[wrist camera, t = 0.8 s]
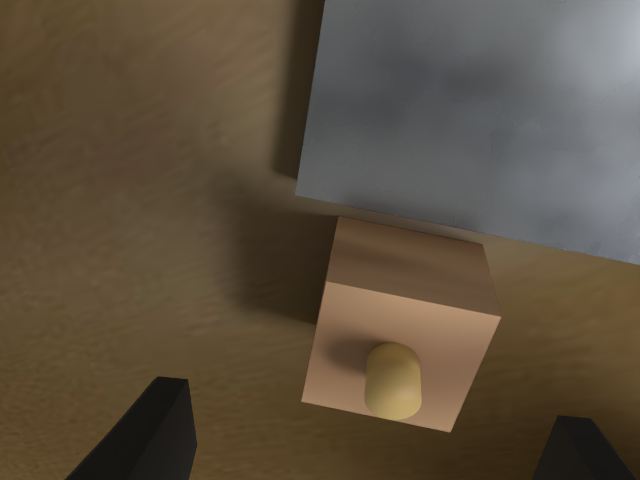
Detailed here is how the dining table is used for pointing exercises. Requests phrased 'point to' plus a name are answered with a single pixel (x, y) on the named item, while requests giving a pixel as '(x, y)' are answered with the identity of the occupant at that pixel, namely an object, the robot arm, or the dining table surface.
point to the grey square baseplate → (482, 117)
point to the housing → (400, 324)
